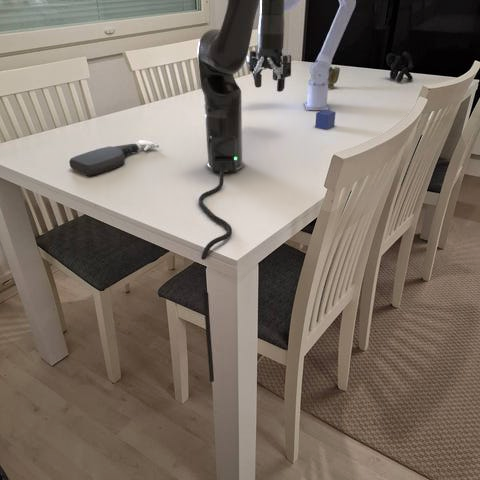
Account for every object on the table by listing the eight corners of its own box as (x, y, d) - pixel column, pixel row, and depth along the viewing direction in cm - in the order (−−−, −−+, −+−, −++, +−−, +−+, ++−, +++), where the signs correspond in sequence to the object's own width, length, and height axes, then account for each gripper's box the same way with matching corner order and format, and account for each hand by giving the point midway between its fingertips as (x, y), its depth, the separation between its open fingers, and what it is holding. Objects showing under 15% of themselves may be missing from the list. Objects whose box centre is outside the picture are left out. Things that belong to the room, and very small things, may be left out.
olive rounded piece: (318, 88, 189) (319, 68, 185) (323, 85, 195) (325, 65, 190) (335, 90, 186) (337, 70, 182) (340, 86, 192) (342, 67, 187)
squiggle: (400, 92, 202) (376, 71, 205) (417, 76, 202) (392, 56, 205) (405, 81, 191) (380, 59, 194) (423, 64, 191) (397, 42, 194)
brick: (334, 126, 147) (335, 111, 144) (326, 129, 144) (328, 115, 141) (322, 123, 149) (323, 109, 147) (315, 127, 146) (316, 112, 144)
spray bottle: (67, 168, 120) (139, 144, 136) (91, 178, 114) (163, 151, 130) (65, 157, 118) (137, 134, 134) (89, 167, 112) (162, 142, 128)
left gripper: (298, 32, 127) (294, 90, 136) (260, 28, 135) (258, 83, 144) (282, 34, 122) (280, 95, 131) (243, 30, 131) (243, 87, 139)
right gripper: (252, 44, 150) (252, 85, 157) (290, 40, 155) (288, 81, 162) (243, 41, 155) (244, 81, 162) (280, 38, 160) (279, 77, 167)
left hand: (268, 89), depth 137 cm, fingers open, 8 cm apart
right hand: (265, 81), depth 162 cm, fingers open, 7 cm apart
